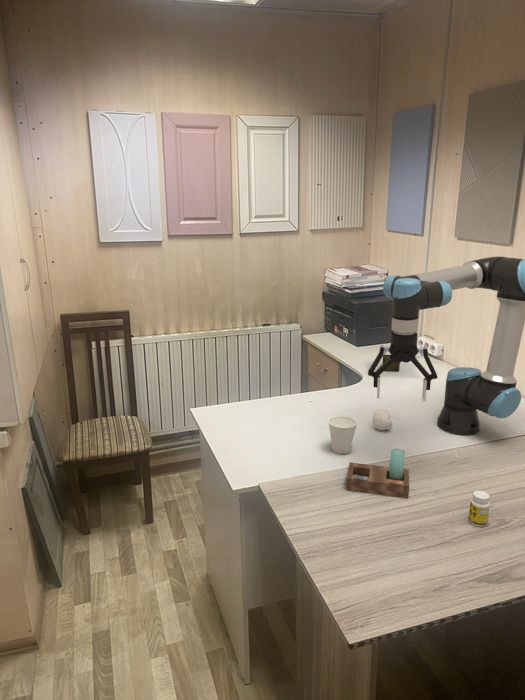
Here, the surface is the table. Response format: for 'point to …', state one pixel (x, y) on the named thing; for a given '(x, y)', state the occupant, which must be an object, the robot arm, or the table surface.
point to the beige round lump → (382, 420)
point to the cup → (342, 433)
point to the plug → (396, 464)
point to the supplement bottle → (479, 508)
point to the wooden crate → (393, 367)
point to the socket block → (376, 480)
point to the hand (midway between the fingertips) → (400, 398)
